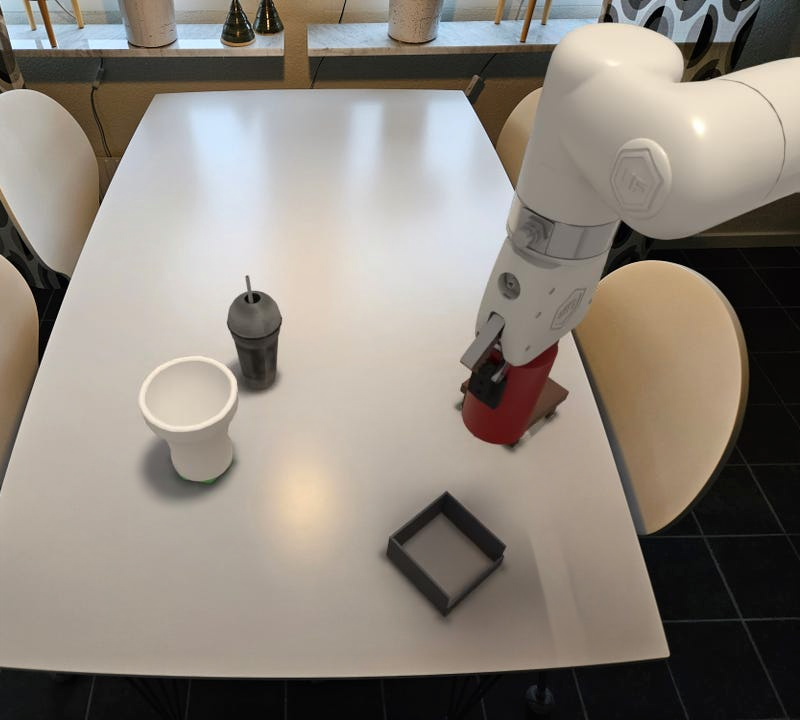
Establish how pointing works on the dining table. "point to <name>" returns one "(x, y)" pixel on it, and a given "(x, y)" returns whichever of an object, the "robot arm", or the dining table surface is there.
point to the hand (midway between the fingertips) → (508, 378)
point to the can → (510, 400)
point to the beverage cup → (255, 335)
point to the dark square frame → (467, 526)
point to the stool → (546, 403)
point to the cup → (192, 414)
